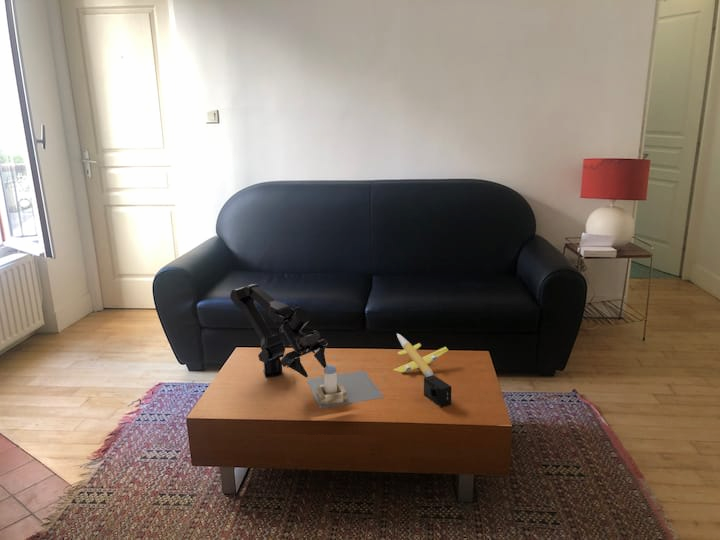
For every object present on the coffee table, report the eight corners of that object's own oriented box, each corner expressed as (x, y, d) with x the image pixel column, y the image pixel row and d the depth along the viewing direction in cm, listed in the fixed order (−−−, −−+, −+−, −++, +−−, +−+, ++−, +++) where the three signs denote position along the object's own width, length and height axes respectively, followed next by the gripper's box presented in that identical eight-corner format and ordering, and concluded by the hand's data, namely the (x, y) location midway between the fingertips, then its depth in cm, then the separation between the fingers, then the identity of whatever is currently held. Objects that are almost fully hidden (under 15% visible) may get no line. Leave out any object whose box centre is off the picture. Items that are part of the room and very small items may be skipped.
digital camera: (420, 396, 191) (420, 378, 189) (433, 392, 194) (433, 374, 192) (438, 408, 182) (438, 390, 181) (451, 404, 185) (451, 386, 183)
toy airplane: (463, 374, 209) (425, 331, 232) (461, 361, 205) (423, 319, 228) (404, 402, 203) (372, 355, 226) (401, 388, 199) (369, 342, 222)
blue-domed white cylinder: (324, 400, 188) (322, 368, 185) (326, 393, 192) (324, 362, 189) (336, 400, 187) (335, 368, 184) (338, 394, 192) (337, 362, 188)
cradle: (321, 405, 184) (321, 397, 183) (315, 393, 193) (315, 385, 192) (347, 401, 187) (347, 393, 186) (340, 389, 195) (340, 381, 194)
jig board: (320, 411, 182) (320, 408, 182) (306, 381, 204) (306, 379, 203) (384, 399, 189) (384, 397, 189) (364, 372, 210) (364, 370, 210)
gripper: (284, 332, 185) (307, 371, 181) (323, 318, 198) (345, 353, 194) (271, 347, 192) (293, 385, 188) (310, 332, 205) (331, 367, 201)
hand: (316, 372), depth 192 cm, fingers open, 9 cm apart
